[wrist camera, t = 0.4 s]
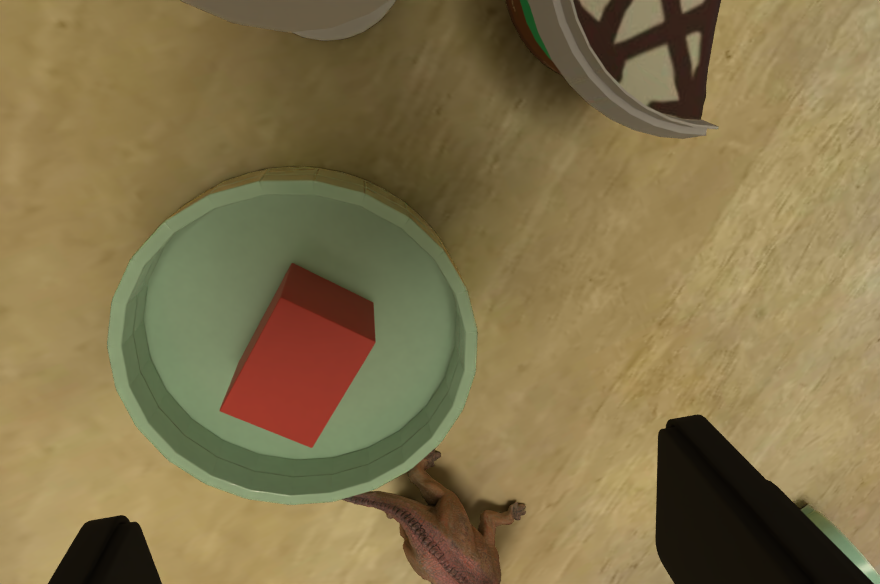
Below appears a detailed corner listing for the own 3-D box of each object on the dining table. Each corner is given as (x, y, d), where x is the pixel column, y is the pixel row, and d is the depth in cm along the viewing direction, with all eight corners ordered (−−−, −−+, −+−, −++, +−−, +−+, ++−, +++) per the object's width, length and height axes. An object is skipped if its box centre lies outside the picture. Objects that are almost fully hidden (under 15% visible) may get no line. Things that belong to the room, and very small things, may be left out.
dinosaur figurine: (556, 528, 37) (615, 669, 29) (488, 585, 38) (525, 738, 30) (397, 403, 33) (410, 526, 24) (324, 472, 34) (312, 613, 25)
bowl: (74, 220, 27) (35, 242, 24) (420, 125, 27) (428, 134, 24) (213, 494, 33) (197, 541, 30) (494, 414, 34) (508, 451, 30)
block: (292, 262, 28) (280, 296, 24) (374, 302, 30) (376, 342, 25) (238, 362, 30) (218, 411, 26) (318, 396, 31) (312, 448, 27)
